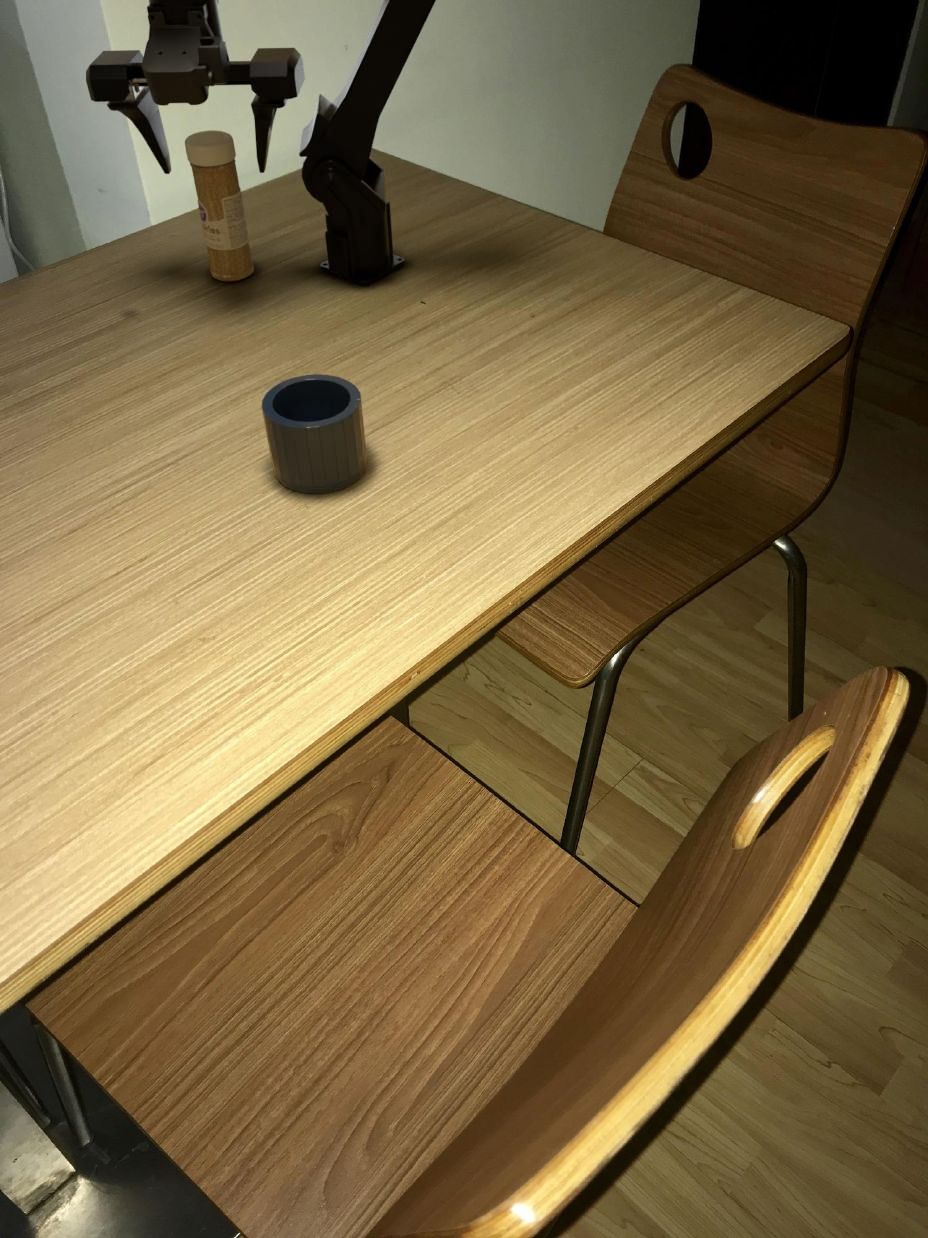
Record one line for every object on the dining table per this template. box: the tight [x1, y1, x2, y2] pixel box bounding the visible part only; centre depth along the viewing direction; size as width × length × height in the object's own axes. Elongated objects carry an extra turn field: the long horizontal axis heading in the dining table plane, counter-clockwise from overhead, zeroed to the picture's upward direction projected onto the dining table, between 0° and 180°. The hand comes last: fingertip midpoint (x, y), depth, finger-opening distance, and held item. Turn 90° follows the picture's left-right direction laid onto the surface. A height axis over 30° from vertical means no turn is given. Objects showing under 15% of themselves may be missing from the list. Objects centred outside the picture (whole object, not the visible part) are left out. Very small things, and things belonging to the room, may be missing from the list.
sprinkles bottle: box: [184, 129, 255, 282], centre depth 98 cm, size 5×5×13 cm
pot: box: [261, 373, 368, 495], centre depth 76 cm, size 7×7×6 cm
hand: (215, 171), depth 96 cm, fingers open, 9 cm apart
